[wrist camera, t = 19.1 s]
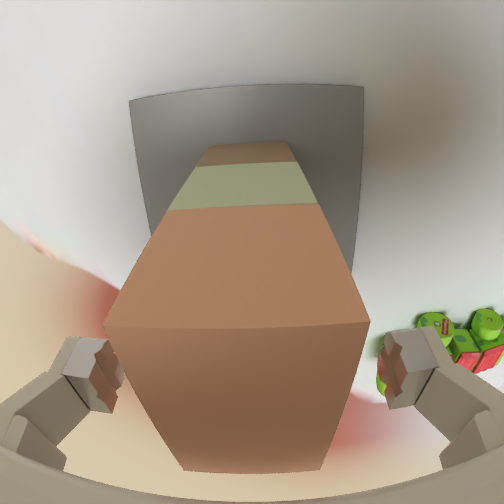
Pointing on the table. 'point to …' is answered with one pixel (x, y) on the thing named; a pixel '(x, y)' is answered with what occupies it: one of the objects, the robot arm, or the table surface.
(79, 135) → the table surface
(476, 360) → the toy crocodile
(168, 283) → the terracotta brick
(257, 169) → the sage brick
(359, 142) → the base plate
